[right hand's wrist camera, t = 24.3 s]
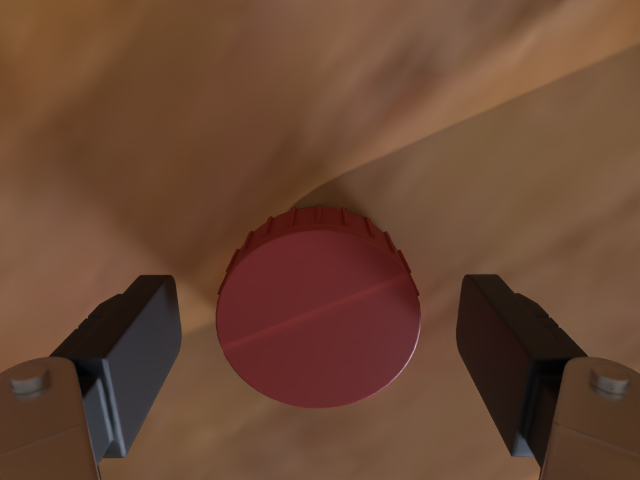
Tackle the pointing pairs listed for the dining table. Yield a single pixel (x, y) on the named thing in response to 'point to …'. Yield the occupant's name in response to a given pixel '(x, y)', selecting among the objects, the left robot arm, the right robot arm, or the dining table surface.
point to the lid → (318, 309)
